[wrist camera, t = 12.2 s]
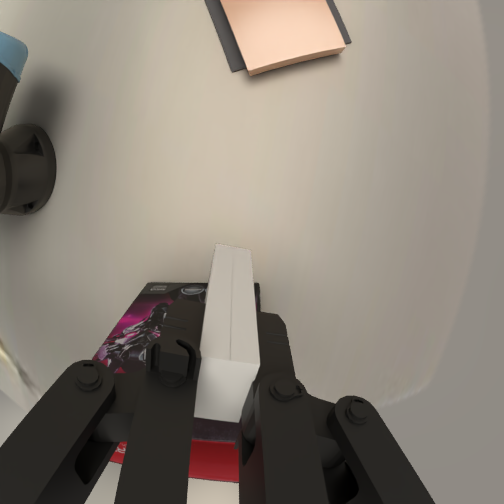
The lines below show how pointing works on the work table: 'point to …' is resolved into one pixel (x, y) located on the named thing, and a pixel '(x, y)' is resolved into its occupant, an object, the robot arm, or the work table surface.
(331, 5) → the mat
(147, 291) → the graphics card box
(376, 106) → the work table surface
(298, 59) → the tile
